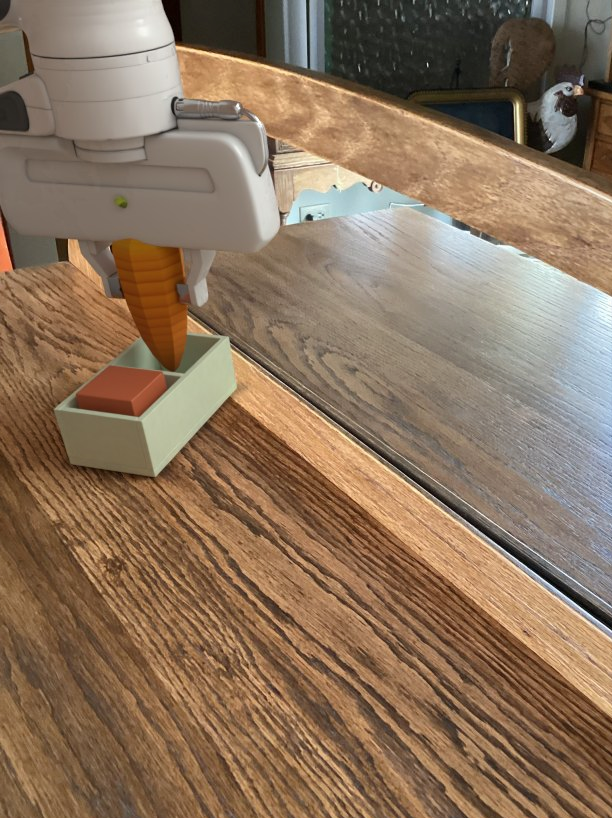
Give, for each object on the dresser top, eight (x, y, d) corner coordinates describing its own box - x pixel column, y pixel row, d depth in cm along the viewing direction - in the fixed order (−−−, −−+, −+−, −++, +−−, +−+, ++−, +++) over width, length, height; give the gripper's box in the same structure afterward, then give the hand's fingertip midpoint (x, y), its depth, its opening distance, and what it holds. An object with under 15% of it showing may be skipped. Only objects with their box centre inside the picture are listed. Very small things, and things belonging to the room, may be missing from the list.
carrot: (215, 374, 69) (178, 173, 60) (153, 392, 67) (106, 188, 58) (191, 351, 72) (153, 157, 63) (132, 368, 70) (84, 170, 61)
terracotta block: (90, 448, 65) (74, 393, 62) (123, 417, 68) (109, 364, 66) (145, 456, 64) (131, 401, 61) (175, 425, 67) (163, 371, 64)
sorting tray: (70, 464, 65) (53, 409, 62) (161, 378, 75) (150, 327, 72) (155, 477, 63) (141, 421, 60) (237, 388, 73) (229, 336, 70)
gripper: (281, 89, 57) (303, 294, 66) (12, 82, 63) (65, 273, 71) (239, 113, 53) (268, 330, 61) (-48, 102, 58) (16, 304, 66)
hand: (157, 299), depth 66 cm, fingers closed on carrot, 5 cm apart
